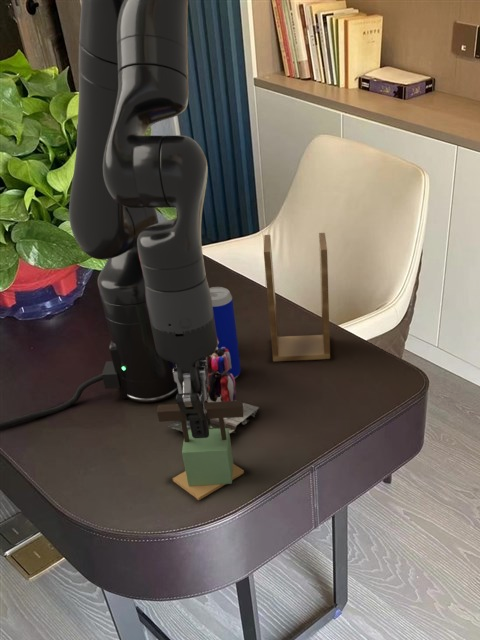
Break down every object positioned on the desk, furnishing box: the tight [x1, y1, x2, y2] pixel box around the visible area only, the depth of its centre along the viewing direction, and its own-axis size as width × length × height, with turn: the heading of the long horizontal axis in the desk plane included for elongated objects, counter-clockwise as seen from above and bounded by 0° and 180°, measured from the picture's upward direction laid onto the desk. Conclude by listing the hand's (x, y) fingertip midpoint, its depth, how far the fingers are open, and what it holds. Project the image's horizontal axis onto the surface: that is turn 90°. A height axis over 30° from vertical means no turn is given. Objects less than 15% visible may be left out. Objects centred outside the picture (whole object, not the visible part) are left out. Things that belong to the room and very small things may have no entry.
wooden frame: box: [263, 232, 331, 362], centre depth 123 cm, size 10×7×20 cm
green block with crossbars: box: [156, 400, 244, 486], centre depth 98 cm, size 11×5×12 cm, turn 95°
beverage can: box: [209, 286, 242, 380], centre depth 118 cm, size 5×5×15 cm
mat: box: [172, 463, 245, 501], centre depth 102 cm, size 8×6×1 cm
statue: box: [167, 338, 260, 434], centre depth 108 cm, size 11×9×15 cm
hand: (201, 430), depth 97 cm, fingers closed
